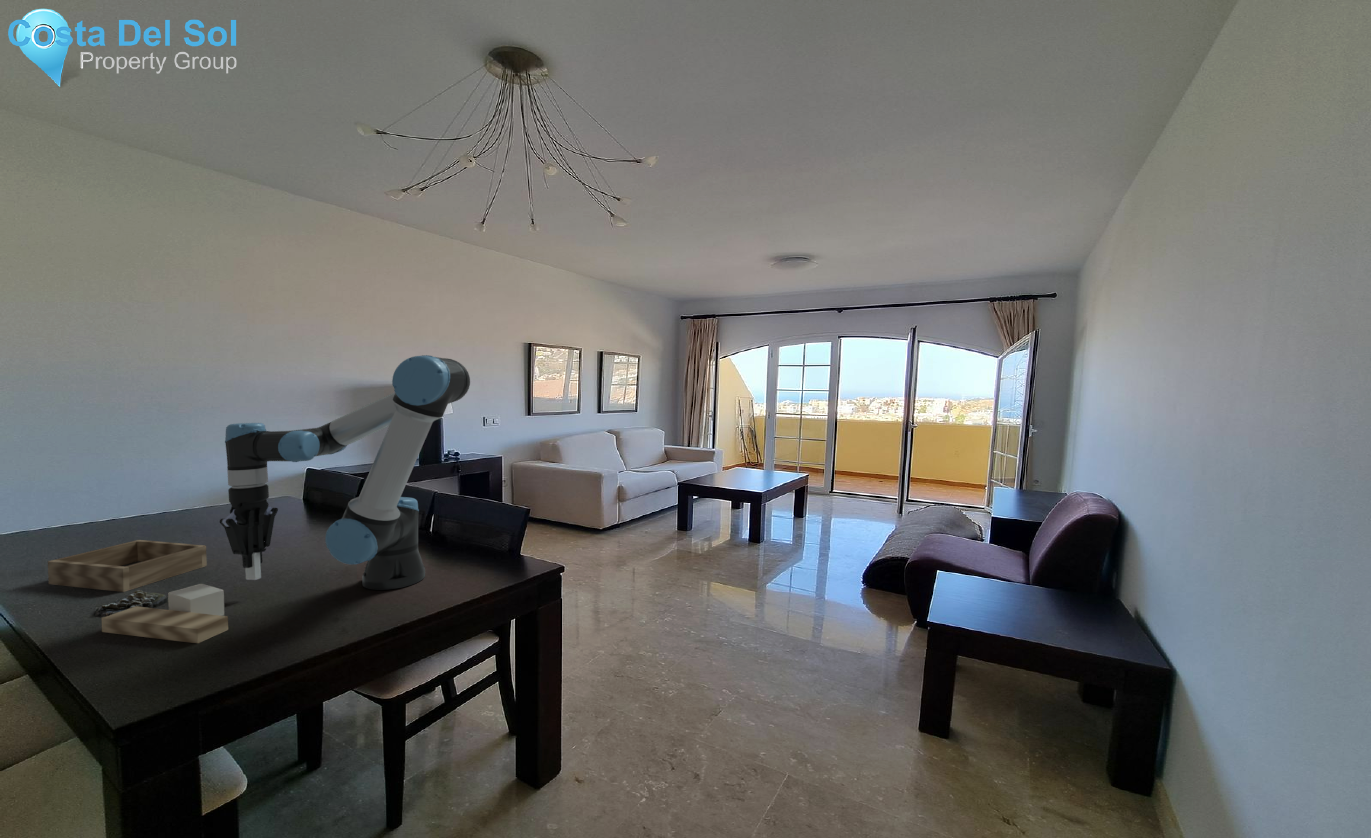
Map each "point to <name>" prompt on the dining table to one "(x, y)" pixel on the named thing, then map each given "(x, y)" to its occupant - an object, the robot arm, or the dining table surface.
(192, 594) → the block
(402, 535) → the robot arm
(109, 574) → the wooden serving tray
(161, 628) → the batten
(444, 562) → the dining table surface
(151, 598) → the crumpled grey lump
